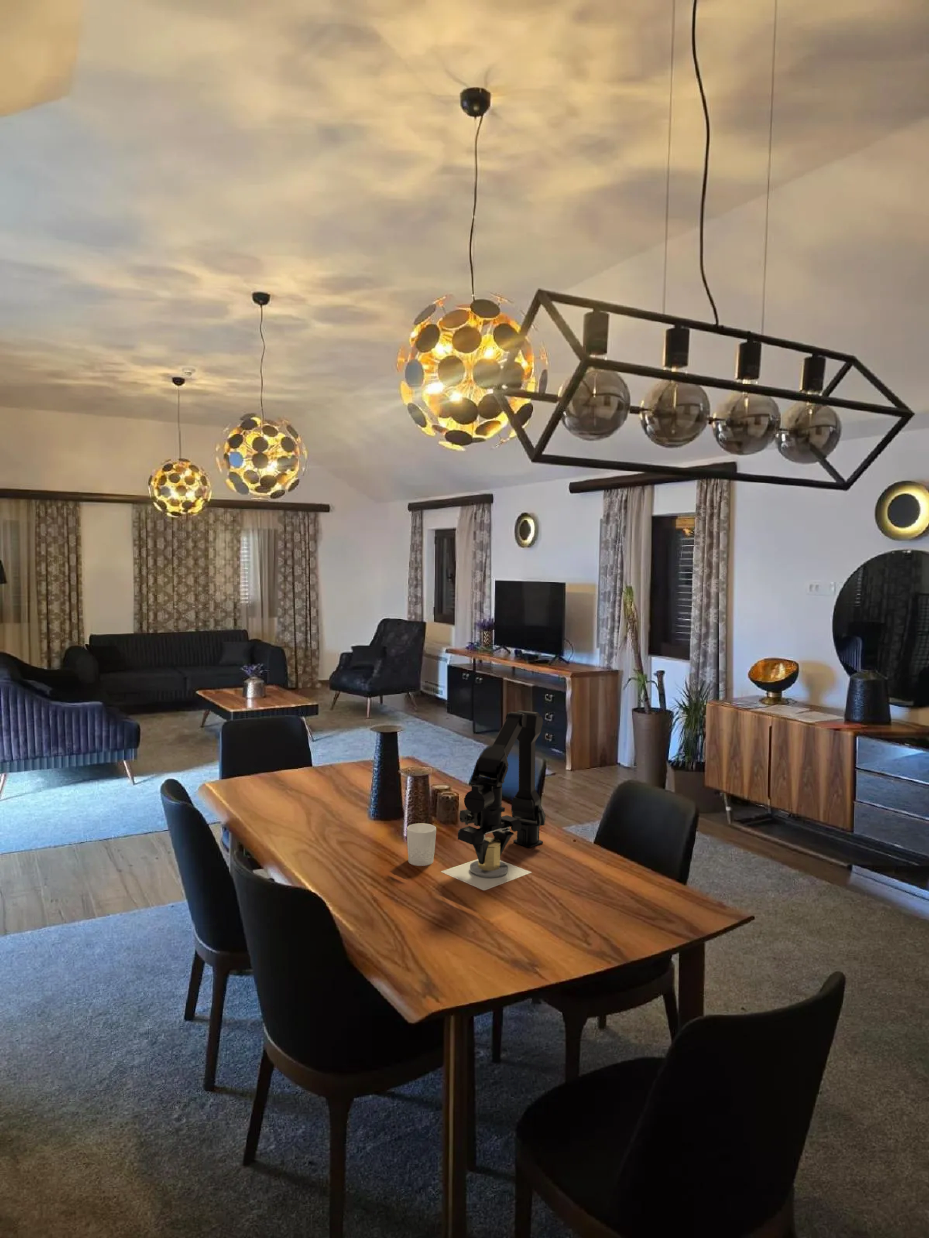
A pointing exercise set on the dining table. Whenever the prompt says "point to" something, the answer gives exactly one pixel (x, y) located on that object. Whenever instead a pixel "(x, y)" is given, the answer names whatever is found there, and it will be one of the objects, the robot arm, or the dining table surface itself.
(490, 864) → the brown and gold cylinder
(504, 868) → the metal disc with knob
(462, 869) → the board
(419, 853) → the white cup
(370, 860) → the dining table surface
